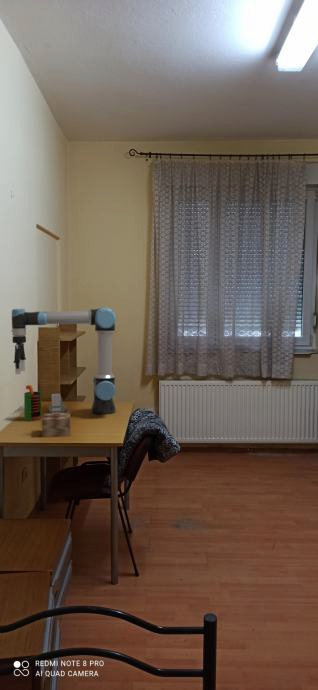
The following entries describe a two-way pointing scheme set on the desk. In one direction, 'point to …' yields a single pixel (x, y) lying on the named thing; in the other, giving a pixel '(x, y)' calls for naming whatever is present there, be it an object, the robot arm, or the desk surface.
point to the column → (56, 405)
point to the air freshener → (63, 407)
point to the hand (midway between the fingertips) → (20, 372)
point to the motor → (32, 404)
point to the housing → (56, 425)
